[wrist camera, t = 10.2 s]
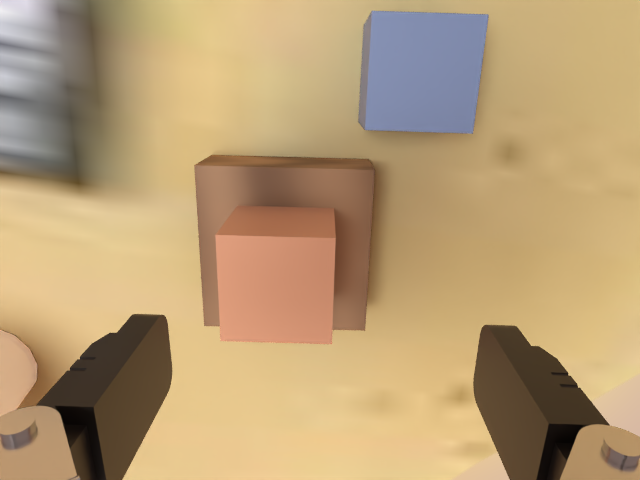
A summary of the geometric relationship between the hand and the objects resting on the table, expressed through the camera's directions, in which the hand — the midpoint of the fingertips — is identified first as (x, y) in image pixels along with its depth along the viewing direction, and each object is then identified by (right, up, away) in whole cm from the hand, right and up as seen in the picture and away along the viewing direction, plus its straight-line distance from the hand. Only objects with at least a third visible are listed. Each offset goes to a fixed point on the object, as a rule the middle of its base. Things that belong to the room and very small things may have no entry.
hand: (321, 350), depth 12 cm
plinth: (-2, +3, +19) cm, 20 cm away
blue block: (+5, +13, +16) cm, 21 cm away
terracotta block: (-2, +2, +15) cm, 16 cm away
